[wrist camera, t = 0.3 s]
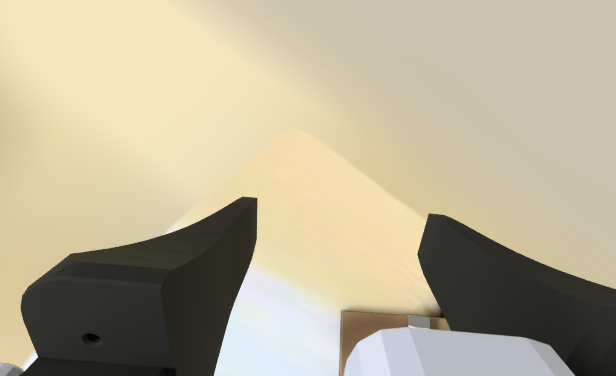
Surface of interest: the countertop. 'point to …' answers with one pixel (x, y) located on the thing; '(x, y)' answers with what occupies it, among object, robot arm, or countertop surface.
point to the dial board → (372, 329)
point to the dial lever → (418, 321)
